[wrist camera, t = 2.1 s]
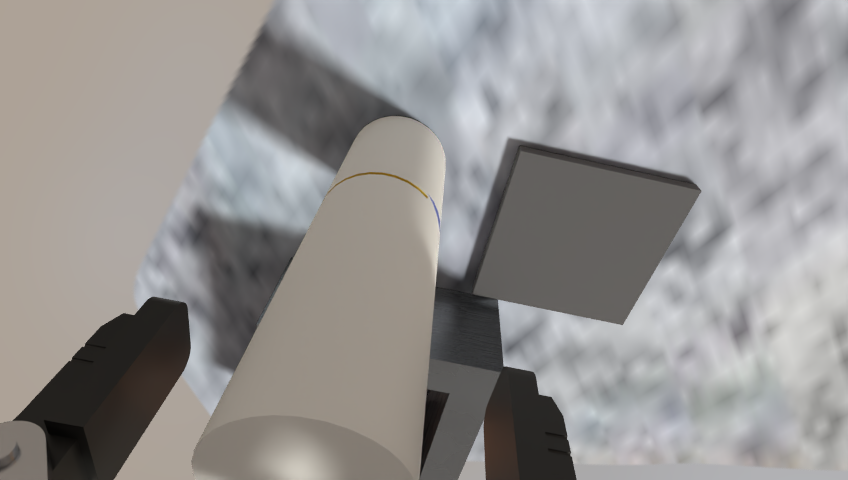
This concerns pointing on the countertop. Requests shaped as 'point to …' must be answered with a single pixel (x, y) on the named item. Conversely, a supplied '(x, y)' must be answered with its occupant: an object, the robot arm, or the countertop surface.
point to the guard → (455, 378)
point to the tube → (344, 329)
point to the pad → (579, 235)
